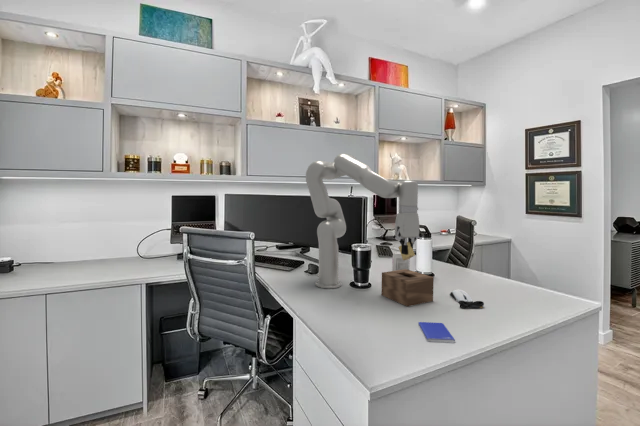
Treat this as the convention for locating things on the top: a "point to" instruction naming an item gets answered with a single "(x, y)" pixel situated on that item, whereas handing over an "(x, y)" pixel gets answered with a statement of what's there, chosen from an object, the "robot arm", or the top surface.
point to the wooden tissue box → (407, 287)
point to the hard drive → (436, 332)
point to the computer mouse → (465, 299)
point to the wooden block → (410, 252)
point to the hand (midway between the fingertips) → (407, 253)
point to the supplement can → (399, 262)
